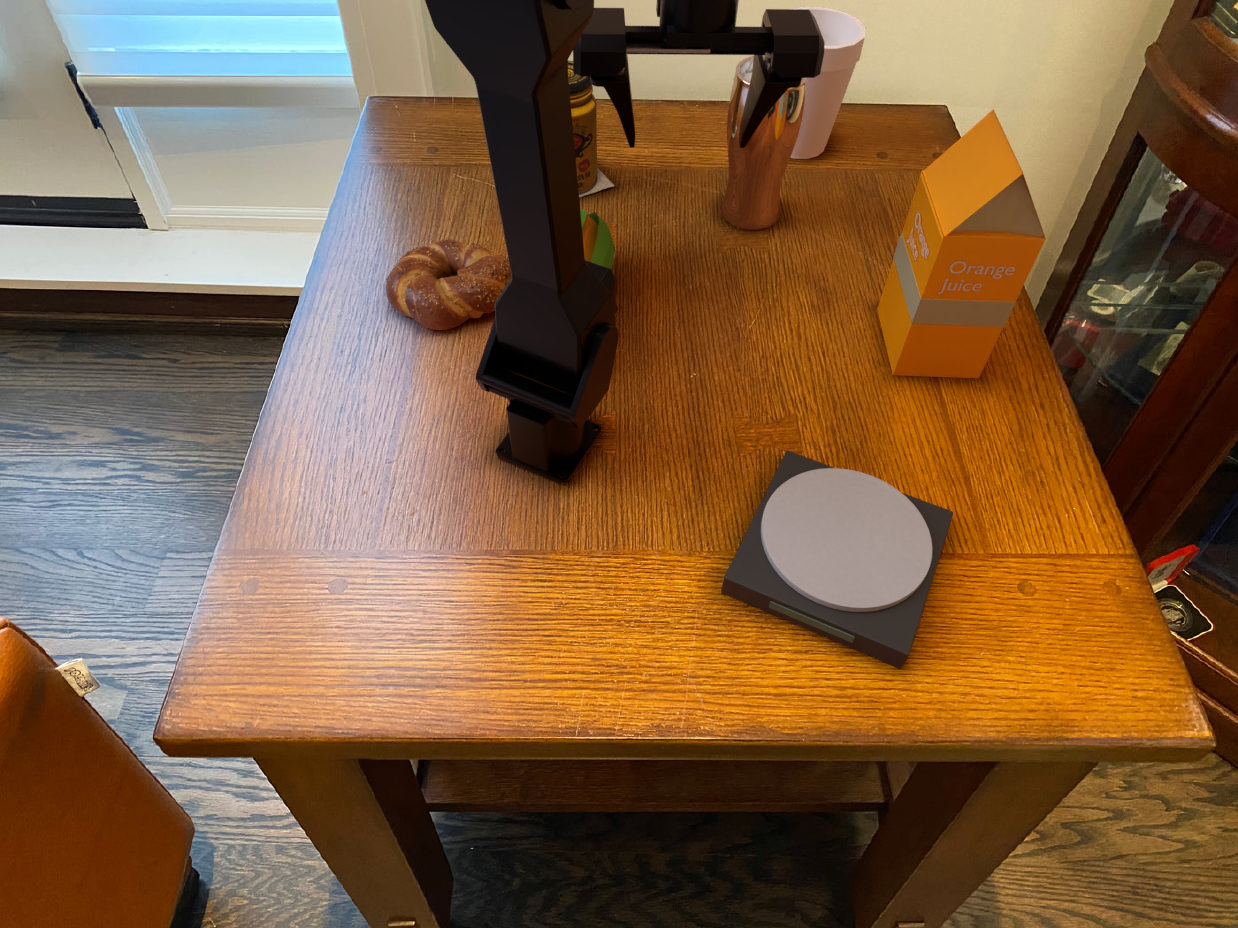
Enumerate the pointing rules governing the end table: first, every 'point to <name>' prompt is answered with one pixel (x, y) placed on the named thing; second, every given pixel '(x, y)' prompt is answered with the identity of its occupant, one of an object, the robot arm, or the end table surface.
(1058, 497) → the end table surface
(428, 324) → the pretzel
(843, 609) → the scale
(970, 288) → the orange juice
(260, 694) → the end table surface
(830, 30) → the foam cup
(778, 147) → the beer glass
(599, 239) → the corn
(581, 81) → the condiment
